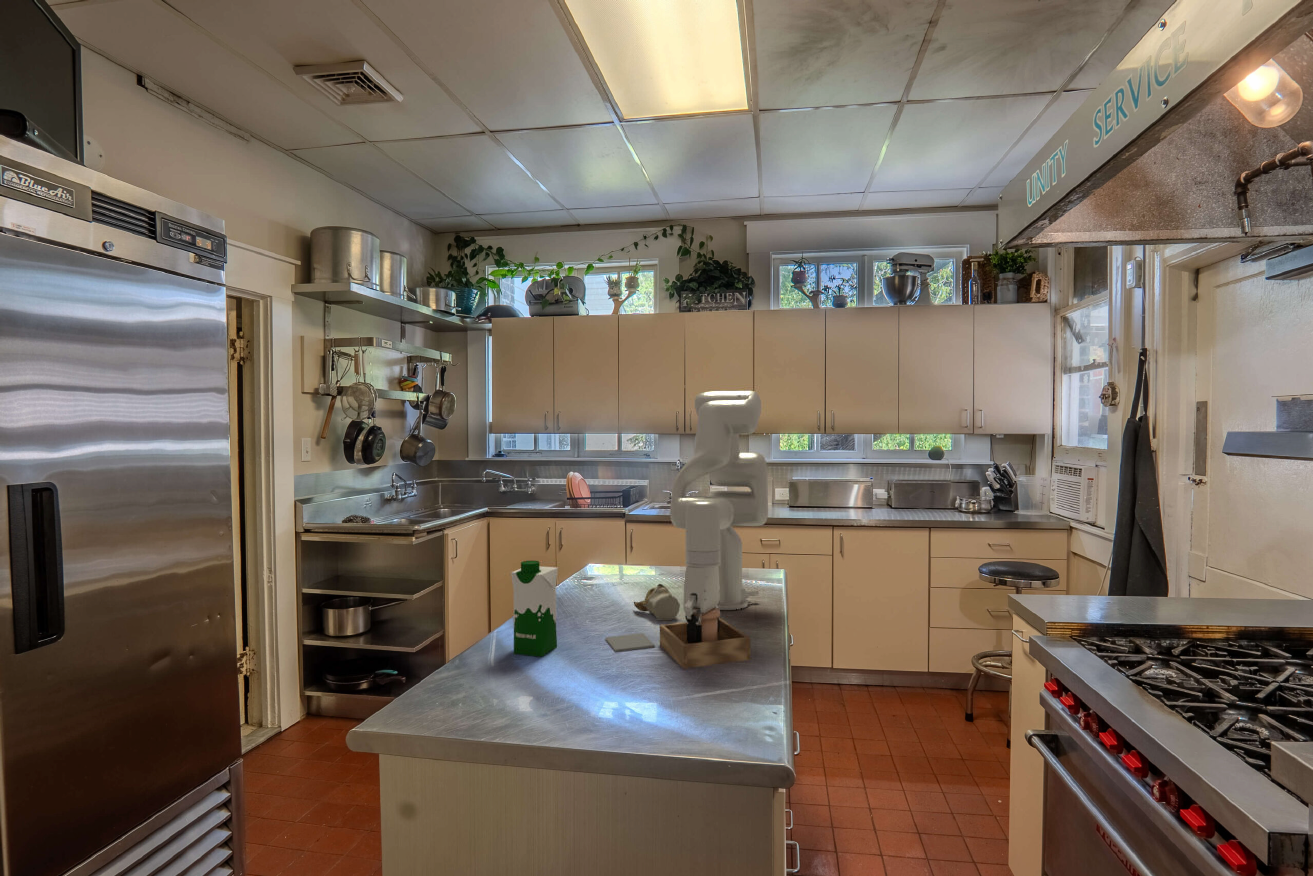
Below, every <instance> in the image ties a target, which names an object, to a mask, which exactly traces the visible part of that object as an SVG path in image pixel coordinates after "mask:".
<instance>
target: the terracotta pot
mask: <svg viewBox="0 0 1313 876" xmlns="http://www.w3.org/2000/svg"><path fill="white" fill-rule="evenodd" d="M695 610H699V609H695ZM694 615H695V617H696V618H697V616H698V615H696V614H694ZM720 617H721V610H719V609H718V608H715V607H714V608H713V609H711V610H710V611H708V612H707V613H705V614H702V618H701V622H700V625H702V642H710V641H717V618H719V619H720ZM690 644H693V643H690Z"/></svg>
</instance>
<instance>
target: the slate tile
mask: <svg viewBox="0 0 1313 876" xmlns="http://www.w3.org/2000/svg"><path fill="white" fill-rule="evenodd" d="M605 642H607V643H608V644H609V646H610V647H611V648H612V650H613V651H614V652H615V653H620V652H627V651H629V652H630V651H636V650H637V651H638V650H644V649H645V650H646V649H652V648H656V645H655V643H653V642H652V640H650V639H649V638H648V637H647V636H646V635H645V634H644V633H643V632H641V633H640V632H639V633H633V634H624V635H623V634H621V635H614V636H606V637H605Z"/></svg>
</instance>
